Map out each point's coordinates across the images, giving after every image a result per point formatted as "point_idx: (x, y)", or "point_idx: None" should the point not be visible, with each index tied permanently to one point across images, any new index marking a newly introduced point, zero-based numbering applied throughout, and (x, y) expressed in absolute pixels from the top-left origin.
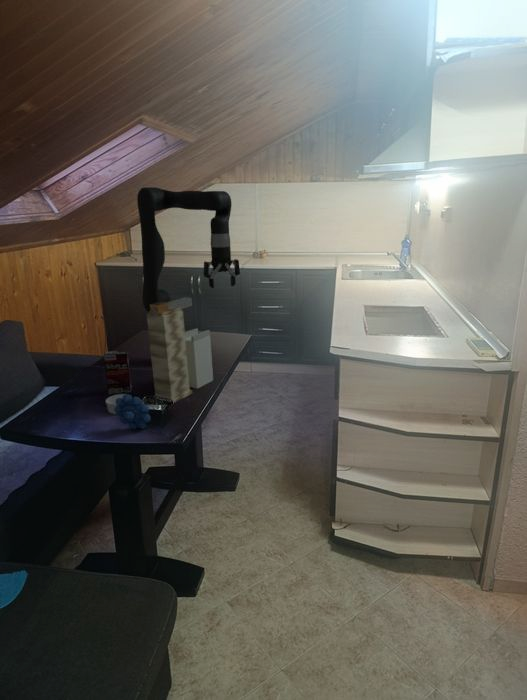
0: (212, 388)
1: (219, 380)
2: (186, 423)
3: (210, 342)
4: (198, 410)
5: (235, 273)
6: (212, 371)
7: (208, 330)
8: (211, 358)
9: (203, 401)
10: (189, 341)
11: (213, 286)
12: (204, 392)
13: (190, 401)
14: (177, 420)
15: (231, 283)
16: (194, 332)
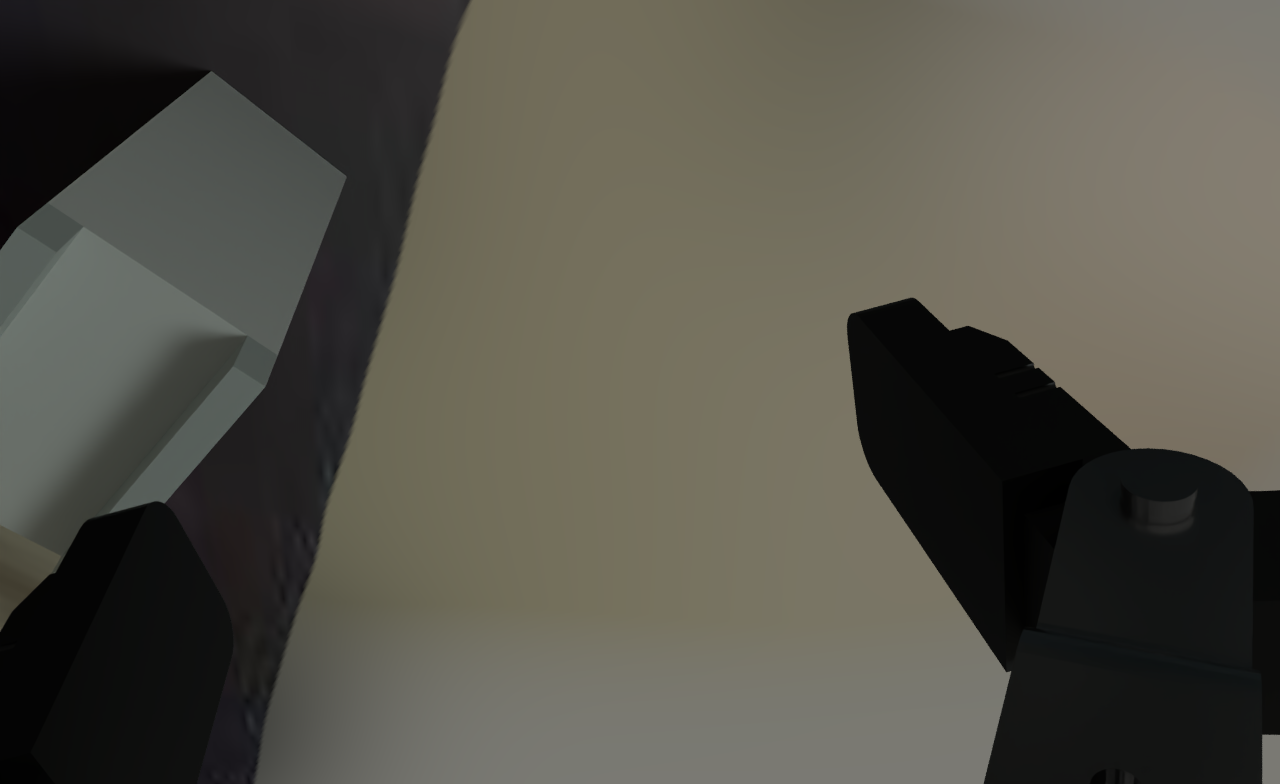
0: (345, 346)
1: (402, 192)
2: (217, 761)
3: (291, 315)
4: (268, 643)
5: (1273, 708)
6: (336, 201)
7: (247, 396)
8: (317, 248)
9: (290, 539)
10: (30, 535)
11: (211, 675)
12: (286, 405)
13: (198, 526)
14: None
15: (884, 404)
16: (26, 299)
